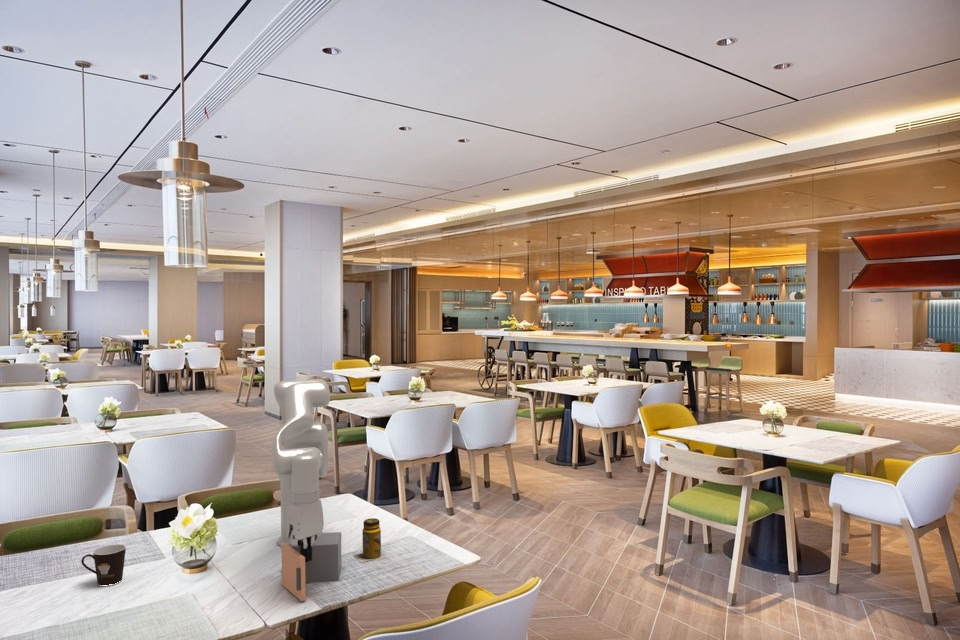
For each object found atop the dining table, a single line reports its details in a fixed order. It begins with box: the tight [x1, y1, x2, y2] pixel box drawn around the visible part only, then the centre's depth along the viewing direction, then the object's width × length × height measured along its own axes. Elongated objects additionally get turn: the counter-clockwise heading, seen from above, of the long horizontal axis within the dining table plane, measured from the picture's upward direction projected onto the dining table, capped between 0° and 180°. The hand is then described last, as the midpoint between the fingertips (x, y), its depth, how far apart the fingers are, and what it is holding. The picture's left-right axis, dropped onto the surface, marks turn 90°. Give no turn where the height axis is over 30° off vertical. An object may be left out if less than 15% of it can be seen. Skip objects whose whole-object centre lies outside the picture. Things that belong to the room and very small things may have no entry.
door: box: [281, 543, 307, 602], centre depth 179 cm, size 2×15×12 cm, turn 39°
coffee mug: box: [81, 544, 127, 585], centre depth 189 cm, size 12×9×10 cm
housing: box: [288, 531, 343, 584], centre depth 192 cm, size 11×15×12 cm
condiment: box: [353, 517, 386, 563], centre depth 207 cm, size 7×8×12 cm
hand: (306, 560), depth 178 cm, fingers closed
